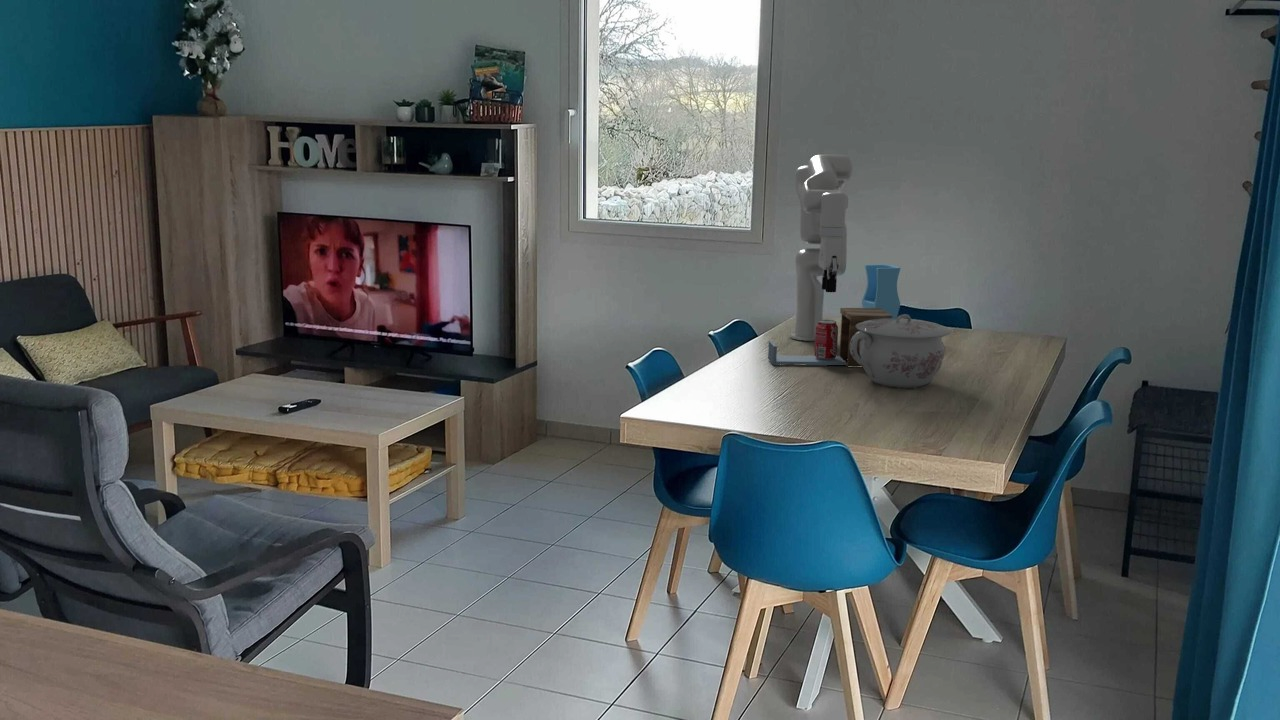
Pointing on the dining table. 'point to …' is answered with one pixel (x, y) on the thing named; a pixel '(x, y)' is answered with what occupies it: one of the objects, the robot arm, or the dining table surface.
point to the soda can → (826, 339)
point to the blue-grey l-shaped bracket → (799, 358)
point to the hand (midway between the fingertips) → (828, 290)
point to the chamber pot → (899, 350)
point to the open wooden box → (849, 328)
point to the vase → (882, 288)
